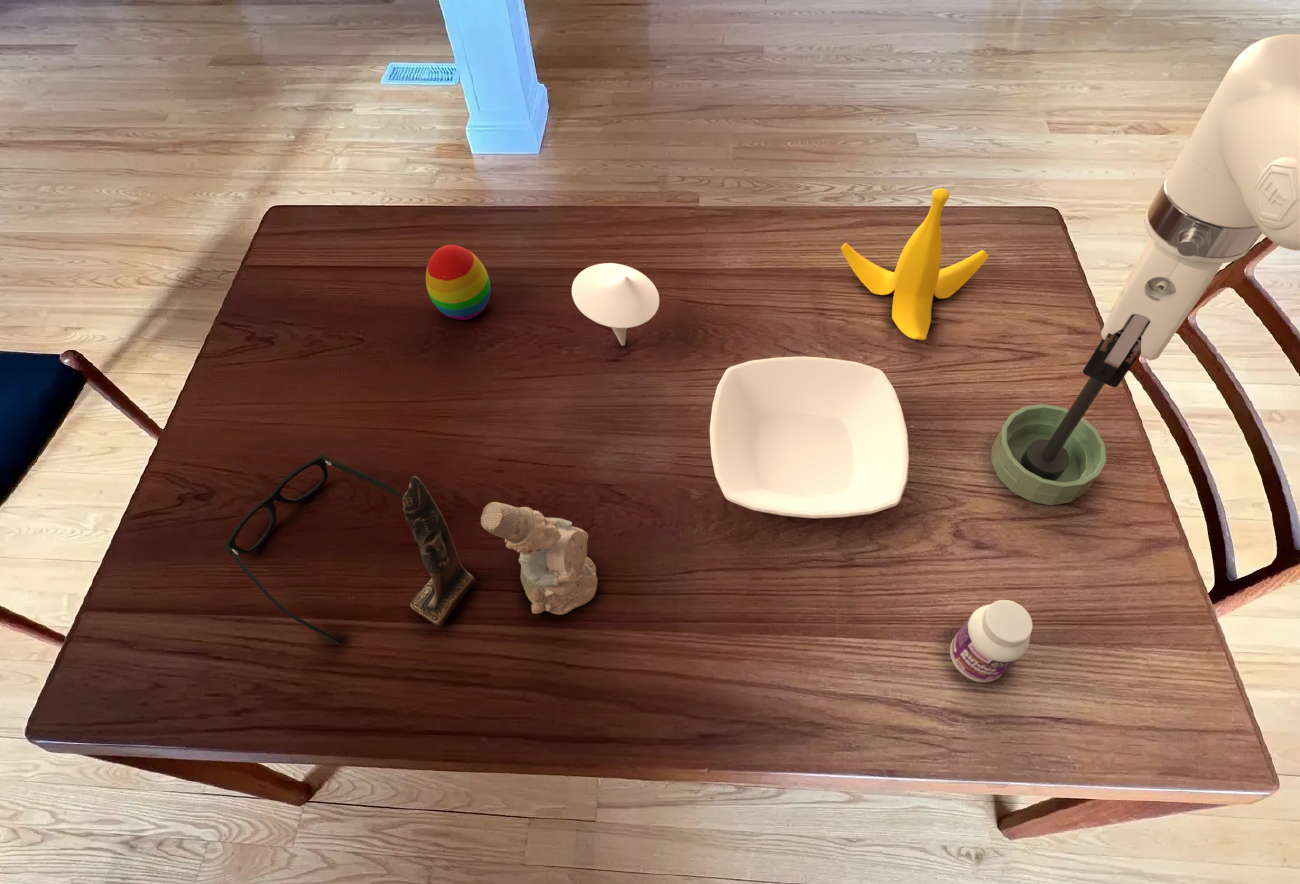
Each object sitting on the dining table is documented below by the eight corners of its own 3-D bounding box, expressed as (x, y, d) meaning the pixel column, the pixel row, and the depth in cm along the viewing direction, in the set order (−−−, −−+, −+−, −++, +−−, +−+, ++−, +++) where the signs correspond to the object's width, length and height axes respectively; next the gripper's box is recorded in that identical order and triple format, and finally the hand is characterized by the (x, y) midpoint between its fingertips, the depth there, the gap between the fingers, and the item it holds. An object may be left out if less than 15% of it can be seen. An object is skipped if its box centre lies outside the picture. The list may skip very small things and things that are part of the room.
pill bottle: (946, 675, 77) (974, 640, 69) (951, 624, 79) (979, 585, 71) (1004, 691, 76) (1040, 657, 68) (1007, 639, 78) (1042, 600, 70)
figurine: (509, 616, 82) (461, 525, 66) (529, 544, 87) (489, 442, 71) (592, 628, 81) (564, 539, 65) (608, 554, 86) (586, 453, 69)
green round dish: (1103, 457, 89) (1121, 434, 86) (1066, 524, 85) (1083, 503, 81) (1013, 413, 93) (1026, 389, 90) (973, 474, 89) (985, 452, 85)
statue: (411, 611, 83) (339, 520, 67) (453, 558, 87) (395, 459, 70) (441, 630, 82) (376, 542, 65) (483, 575, 85) (431, 478, 69)
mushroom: (658, 310, 106) (654, 241, 96) (665, 373, 100) (661, 306, 90) (581, 317, 106) (569, 249, 96) (583, 380, 100) (570, 314, 90)
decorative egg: (502, 286, 110) (486, 230, 102) (486, 330, 105) (468, 274, 97) (446, 282, 111) (425, 226, 103) (428, 325, 107) (405, 270, 98)
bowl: (909, 543, 85) (920, 519, 80) (707, 536, 86) (707, 513, 82) (888, 384, 97) (897, 356, 92) (711, 381, 99) (711, 354, 94)
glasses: (339, 465, 95) (321, 440, 91) (444, 533, 88) (430, 510, 84) (229, 570, 88) (205, 549, 84) (334, 653, 81) (313, 635, 77)
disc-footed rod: (1069, 461, 88) (1164, 326, 70) (1053, 489, 86) (1147, 357, 68) (1030, 442, 90) (1114, 305, 71) (1014, 468, 88) (1095, 335, 70)
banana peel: (837, 260, 109) (857, 156, 96) (980, 268, 107) (1021, 162, 93) (836, 351, 100) (858, 250, 86) (992, 361, 98) (1040, 260, 84)
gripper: (1228, 297, 54) (1113, 446, 70) (1291, 177, 61) (1173, 337, 76) (1118, 254, 57) (1030, 406, 72) (1189, 144, 64) (1095, 305, 79)
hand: (1104, 370), depth 74 cm, fingers closed on disc-footed rod, 1 cm apart
